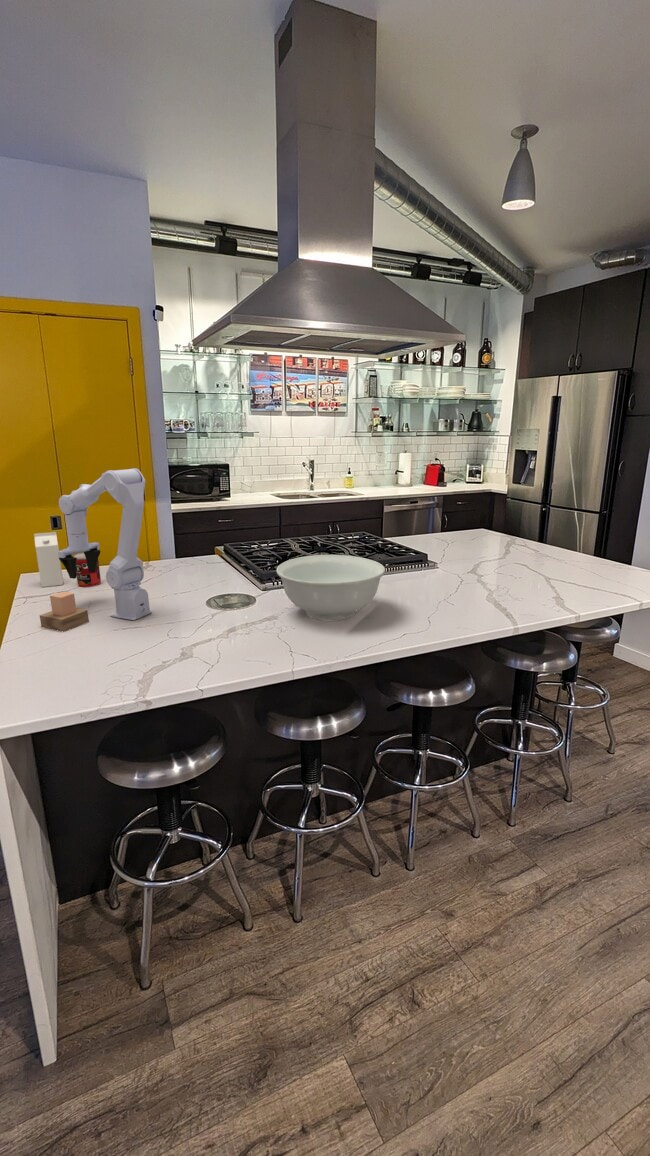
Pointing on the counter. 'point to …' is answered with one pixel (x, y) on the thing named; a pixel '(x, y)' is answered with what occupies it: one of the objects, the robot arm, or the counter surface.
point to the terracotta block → (63, 603)
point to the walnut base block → (64, 620)
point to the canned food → (86, 572)
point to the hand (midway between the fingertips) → (82, 575)
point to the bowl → (330, 584)
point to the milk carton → (48, 559)
